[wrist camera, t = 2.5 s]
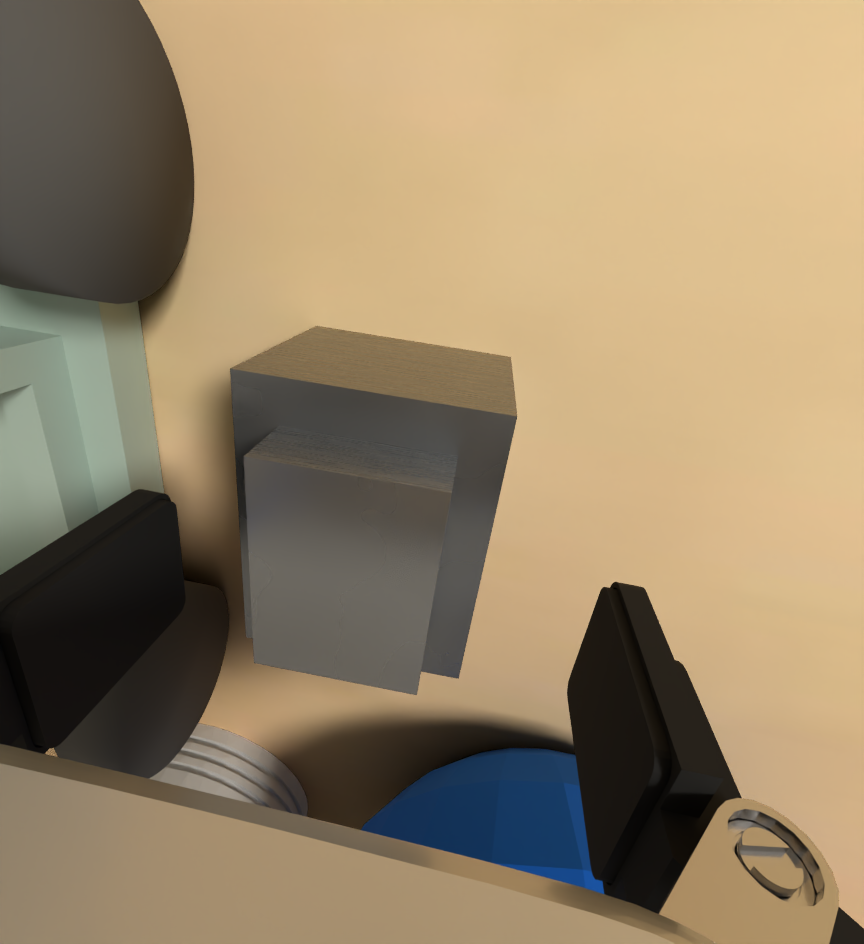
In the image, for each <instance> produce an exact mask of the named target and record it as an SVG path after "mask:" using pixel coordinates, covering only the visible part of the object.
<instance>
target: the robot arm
mask: <svg viewBox="0 0 864 944" xmlns="http://www.w3.org/2000/svg"><path fill="white" fill-rule="evenodd" d="M185 601H186V595H185V585H184V576H183V566H182V556H181V546H180V537H179V527H178V517H177V508H176V505H175V503H173V502H171V500H170V498H169V496H168V495H166V494H164V493H159V492H154V491H149V490H144V489H138V490H135V491H133V492H132V493H130V494H128V495H127V496H125V497H124V498H122V499H120V500H119V501H117V502H116V503H114V504H112V505H111V506H109V507H108V508H106V509H104V510H103V511H101V512H100V513H98V514H97V515H95V516H93V517H92V518H90V519H89V520H87V521H85V522H84V523H82V524H81V525H79V526H77V527H76V528H74V529H73V530H71V531H69V532H68V533H66V534H65V535H63V536H61V537H60V538H58V539H57V540H55V541H54V542H52V543H50V544H49V545H47V546H46V547H44V548H42V549H41V550H39V551H38V552H36V553H34V554H33V555H31V556H30V557H28V558H26V559H25V560H23V561H22V562H20V563H18V564H17V565H15V566H14V567H12V568H11V569H9V570H7V571H6V572H4V573H3V574H1V575H0V944H864V929H863V928H862V927H861V926H860V925H859V924H858V923H857V922H855V921H854V920H853V919H852V918H851V917H850V916H849V915H847V914H846V913H845V912H844V911H843V910H842V909H841V908H840V907H839V890H838V887H837V884H836V881H835V878H834V875H833V872H832V870H831V868H830V867H829V865H828V863H827V862H826V860H825V858H824V857H823V855H822V853H821V852H820V851H819V849H818V848H817V847H816V846H815V845H814V843H813V842H812V841H811V840H810V839H809V837H808V836H807V835H806V834H805V833H804V832H803V831H802V830H800V829H799V828H798V827H797V826H796V825H795V824H794V823H793V822H791V821H790V820H789V819H788V818H786V817H785V816H783V815H782V814H780V813H779V812H777V811H775V810H774V809H772V808H771V807H769V806H766V805H764V804H761V803H759V802H757V801H754V800H749V799H742V798H741V796H740V793H739V791H738V789H737V786H736V784H735V782H734V779H733V777H732V775H731V772H730V770H729V768H728V766H727V763H726V761H725V759H724V756H723V754H722V752H721V749H720V747H719V745H718V742H717V740H716V738H715V736H714V733H713V731H712V729H711V726H710V724H709V722H708V719H707V717H706V715H705V712H704V710H703V708H702V705H701V703H700V701H699V699H698V696H697V694H696V692H695V689H694V687H693V685H692V682H691V680H690V678H689V675H688V673H687V671H686V669H685V668H684V666H683V664H681V663H680V662H679V661H676V660H674V657H673V655H672V653H671V650H670V648H669V645H668V643H667V641H666V638H665V636H664V633H663V631H662V629H661V626H660V624H659V621H658V619H657V616H656V614H655V612H654V609H653V607H652V604H651V602H650V600H649V597H648V595H647V592H646V590H645V589H644V588H643V587H639V586H634V585H629V584H624V583H618V582H614V583H613V584H612V585H611V587H610V588H607V587H603V588H602V589H601V591H600V594H599V597H598V599H597V602H596V605H595V608H594V611H593V614H592V616H591V619H590V622H589V625H588V628H587V630H586V633H585V636H584V639H583V642H582V644H581V647H580V650H579V653H578V656H577V659H576V661H575V664H574V667H573V670H572V673H571V675H570V678H569V682H568V690H567V696H568V705H569V712H570V719H571V727H572V734H573V741H574V749H575V756H576V763H577V771H578V778H579V785H580V792H581V800H582V807H583V814H584V822H585V829H586V836H587V844H588V851H589V858H590V866H591V871H592V874H593V877H594V878H595V879H596V880H600V881H602V882H603V889H604V894H602V893H598V892H595V891H592V890H589V889H586V888H583V887H580V886H576V885H572V884H568V883H565V882H561V881H557V880H554V879H550V878H546V877H542V876H539V875H535V874H531V873H527V872H524V871H520V870H516V869H512V868H509V867H505V866H501V865H498V864H494V863H490V862H486V861H483V860H479V859H475V858H471V857H467V856H463V855H459V854H455V853H451V852H447V851H443V850H439V849H435V848H431V847H427V846H423V845H418V844H414V843H410V842H406V841H402V840H398V839H394V838H390V837H386V836H382V835H378V834H374V833H370V832H366V831H362V830H358V829H354V828H350V827H346V826H342V825H338V824H334V823H330V822H326V821H322V820H318V819H313V818H309V817H305V816H301V815H297V814H293V813H289V812H285V811H280V810H276V809H272V808H268V807H264V806H260V805H256V804H252V803H248V802H243V801H239V800H235V799H231V798H227V797H223V796H219V795H214V794H210V793H206V792H202V791H198V790H194V789H190V788H185V787H181V786H177V785H173V784H169V783H165V782H160V781H156V780H152V779H148V778H144V777H139V776H135V775H131V774H127V773H123V772H118V771H114V770H110V769H106V768H101V767H97V766H93V765H89V764H84V763H80V762H76V761H72V760H67V759H63V758H59V757H55V756H50V755H46V754H45V753H46V752H47V750H48V749H49V748H54V747H56V746H58V745H60V744H61V743H62V742H63V741H64V740H65V739H66V738H67V737H68V736H69V735H70V734H71V732H72V731H73V730H74V729H75V728H76V727H77V726H78V725H79V724H80V723H81V722H82V720H83V719H84V718H85V717H86V716H87V715H88V714H89V713H90V712H91V711H92V710H93V708H94V707H95V706H96V705H97V704H98V703H99V702H100V701H101V700H102V699H103V698H104V696H105V695H106V694H107V693H108V692H109V691H110V690H111V689H112V688H113V687H114V686H115V684H116V683H117V682H118V681H119V680H120V679H121V678H122V677H123V676H124V675H125V674H126V672H127V671H128V670H129V669H130V668H131V667H132V666H133V665H134V664H135V663H136V661H137V660H138V659H139V658H140V657H141V656H142V655H143V654H144V653H145V652H146V651H147V649H148V648H149V647H150V646H151V645H152V644H153V643H154V642H155V641H156V640H157V639H158V637H159V636H160V635H161V634H162V633H163V632H164V631H165V630H166V629H167V628H168V627H169V625H170V624H171V623H172V622H173V621H174V620H175V619H176V618H177V617H178V616H179V614H180V613H181V612H182V610H183V608H184V605H185Z"/></svg>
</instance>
